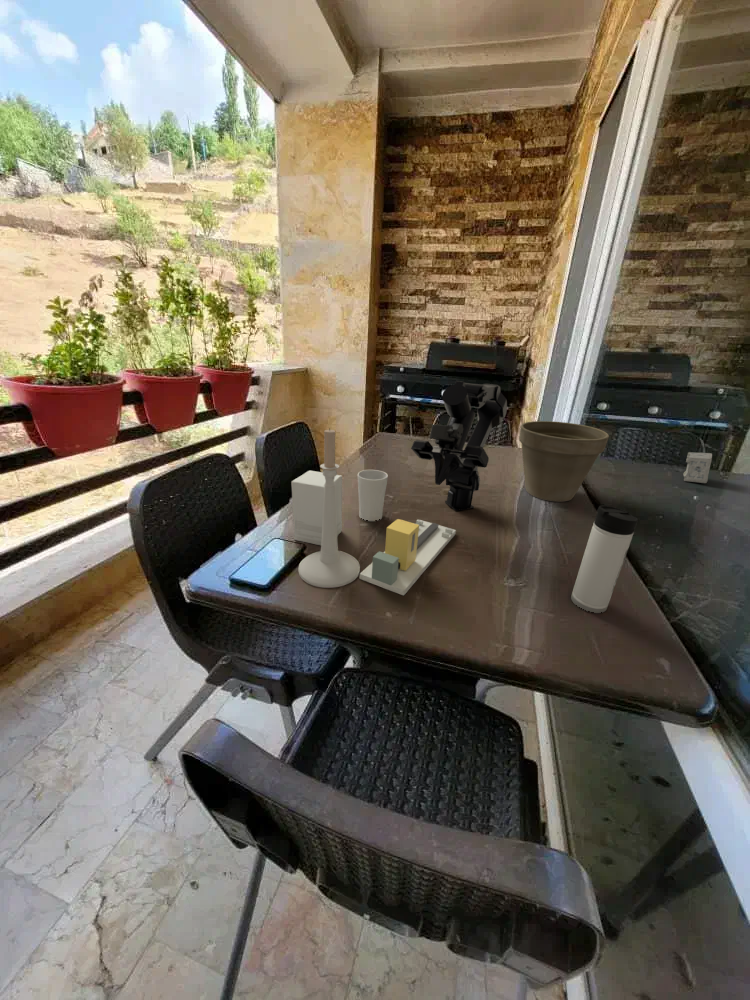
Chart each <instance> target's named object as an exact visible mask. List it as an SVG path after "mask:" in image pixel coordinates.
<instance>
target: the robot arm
mask: <svg viewBox="0 0 750 1000" xmlns="http://www.w3.org/2000/svg"><path fill="white" fill-rule="evenodd" d="M441 397H442V402H443V404H444V407H445V410H446V412H447V415H448V416H450V417H449V419H448V421H447V424H443V425H442V424H431V427H430V434H429V439H431V440H432V439H433V440H435V441H434V442H435V444H436V445H432V444H431V443H430V441H429V440H420V439H415V440H414V441H412V444H411V448H410V449H411V450H412V452H414V454H415V455H416V457H418V458H419V459H421V460H426V461H427V460H428V461H431V460H434V470H435V471H434V473H435V474H434V483H435V485H437V486H440V485H441V484H442V483H443V482H444V481H445V486H449V490H448V491H447V497H446V500H444V503H445V504H446V505H447V506H449V507H450V508H452V510H454V511H465V510H473V509H475V506H474V505H473V504H472V503H473V496H474V492H476V491H479V490H480V485H481V484H480V482H481V479H480V475H479V468H487V467H488V465H489V460H490V459H489V455H488V454H487V452H486V451H485V449H484V447H485V444H486V442H487V440H488V438H489V435H490V433H491V432H492V429H493V428H495V427H497V426H499V425H500V424H501V423H502V421H503V419H504V418H505V417H506V415H507V411H508V401H507V398H506V397H505V395H503V393H502V392H501V386H500V385H498V384H492V383H491V384H490V383H483V384H480V383H479V384H478V383H469V382H465V381H460V380H456V381H455V383H454V384H452V385H449V386H448V387H447V388H446V389H444V391H443V392H442V395H441ZM473 408H475V409H476V413H477V423H476V424H475V426H474V429H473V431H472V433H471V435H470V437H469V433H470V431H471V428H472V425H473V423H474V422H475V417H476V413H475V410H474V409H473ZM466 442H467V444H466ZM465 445H466V446H465ZM464 446H465V447H464ZM463 449H464V450H463Z"/></svg>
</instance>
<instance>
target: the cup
mask: <svg viewBox="0 0 750 1000" xmlns="http://www.w3.org/2000/svg"><path fill="white" fill-rule="evenodd" d="M388 477H389V475H388V473H387V472H385V471H383V470H378V469H363V470H361V471H358V473H357V492H358V511H359V512H358V516H359V518H360V519H361V518H362V519H361V520H363V519H364V520H363V521H366V520H368V521H367V522H376V521H375V520H377V521H380V520H382V518H383V510H384V503H385V496H386V489H387V484H388ZM379 519H380V520H379Z"/></svg>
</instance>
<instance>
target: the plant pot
mask: <svg viewBox="0 0 750 1000" xmlns="http://www.w3.org/2000/svg"><path fill="white" fill-rule="evenodd" d="M518 437H519V438H518V441H519V443H521V452H522V453H521V454H522V467H523V476H524V485H525V490H526V492H527V493H528V494H529V495H531V496H532V497H534V498H537V499H540V500H544V501H548V502H556V503H559V502H561V503H563V502H568V501H571V500H573V498H574V497H575V495H576V493H578V491H579V489H580V487H581V485H582V484H583V483H584V481H585V479H586V478H587V476H588V473H590V470H592V469H591V468H592V467H593V465H594V464H595V462H596V460H597V459H598V457H599V455H600V454H603V453H604V451H605V449H606V446H607V444H608V440H609V437H610V435H609V434H608V433H607V432H606V431H604V430H601V429H599V428H596V427H593V426H588V425H583V424H579V423H572V422H564V421H553V420H552V421H549V420H538V421H537V420H533V421H526V422H524V423H521V425H520V427H519V435H518Z"/></svg>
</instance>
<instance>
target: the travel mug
mask: <svg viewBox="0 0 750 1000" xmlns="http://www.w3.org/2000/svg"><path fill="white" fill-rule="evenodd" d="M638 521H639V519H638V517H637V516H634V515H632V514H630V512H628V511H626V510H624V509H621V508H618V507H615V506H611V505H599V506H598V508H597V510H596V515H595V519H594V521H593V525H592V527H591V530H590V534H589V537H588V540H587V543H586V547H585V549H584V553H583V557H582V560H581V563H580V567H579V569H578V573H577V577H576V580H575V583H574V586H573V589H572V592H571V596H570V599H571V601H572V602H573V604H574V605H575V606H576V605H577V606H576V607H578V608H579V607H580V608H579V609H581V608H582V609H581V610H583V609H584V610H583V611H585V610H586V611H585V612H588V611H590V612H589V613H591V612H594V613H593V614H602V613H604V612H606V611H607V609H608V606H609V604H610V601H611V597H612V595H613V592H614V589H615V587H616V583H617V581H618V578H619V576H620V572H621V570H622V567H623V565H624V562H625V559H626V556H627V553H628V551H629V547H630V545H631V542H632V539H633V535H634V534H635V529H636V527H637V523H638ZM601 612H602V613H601Z"/></svg>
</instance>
